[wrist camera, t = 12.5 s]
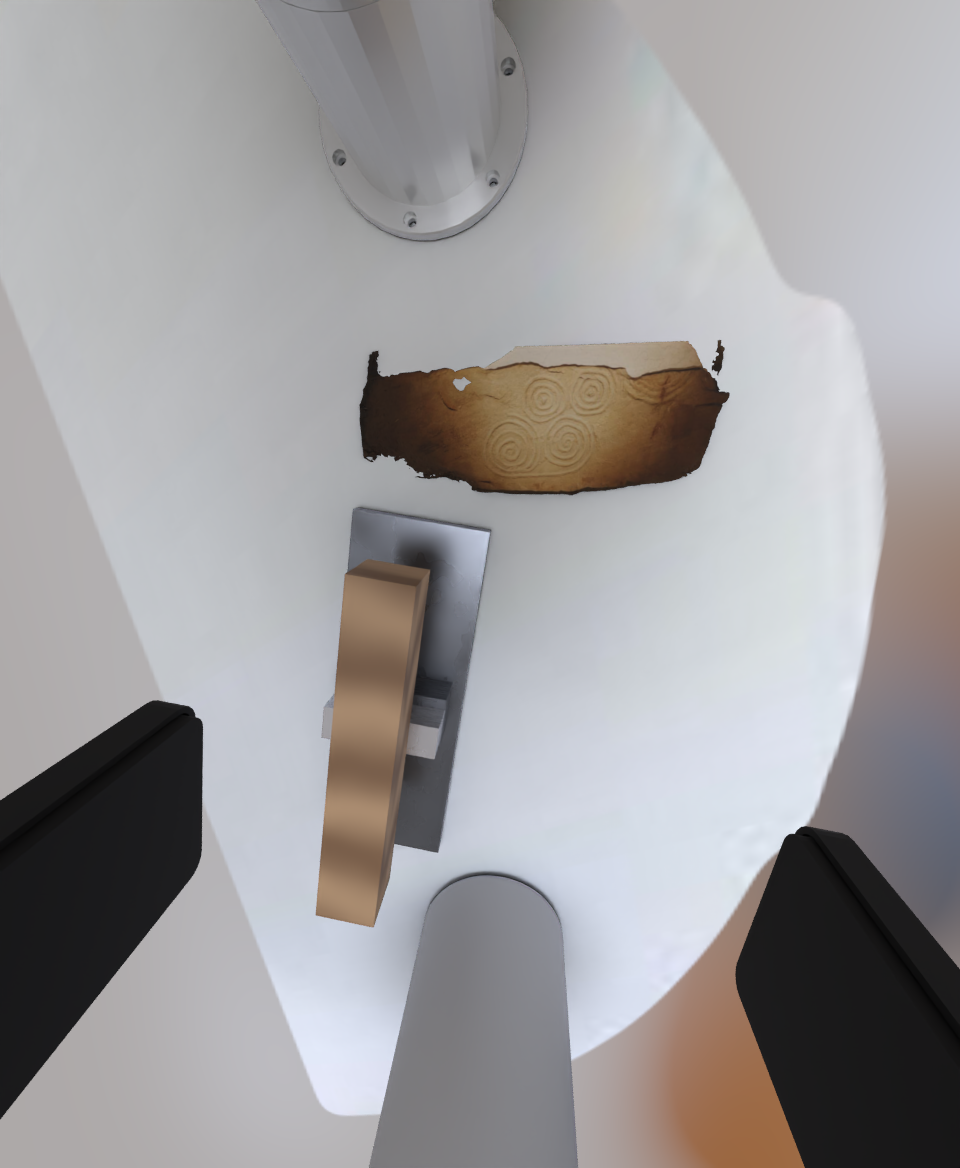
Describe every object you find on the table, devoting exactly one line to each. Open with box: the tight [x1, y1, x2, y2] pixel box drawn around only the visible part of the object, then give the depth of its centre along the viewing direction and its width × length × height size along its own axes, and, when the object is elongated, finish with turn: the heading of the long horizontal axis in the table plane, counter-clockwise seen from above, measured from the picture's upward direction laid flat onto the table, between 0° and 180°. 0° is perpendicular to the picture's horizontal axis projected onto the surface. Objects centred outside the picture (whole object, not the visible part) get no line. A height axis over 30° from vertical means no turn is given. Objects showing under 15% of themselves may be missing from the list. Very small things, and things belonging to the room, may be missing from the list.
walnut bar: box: [316, 559, 430, 928], centre depth 33 cm, size 24×4×4 cm, turn 171°
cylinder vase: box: [369, 875, 578, 1168], centre depth 35 cm, size 12×12×25 cm
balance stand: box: [321, 507, 491, 853], centre depth 38 cm, size 28×10×7 cm, turn 171°
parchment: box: [360, 340, 729, 495], centre depth 35 cm, size 25×10×1 cm, turn 90°
